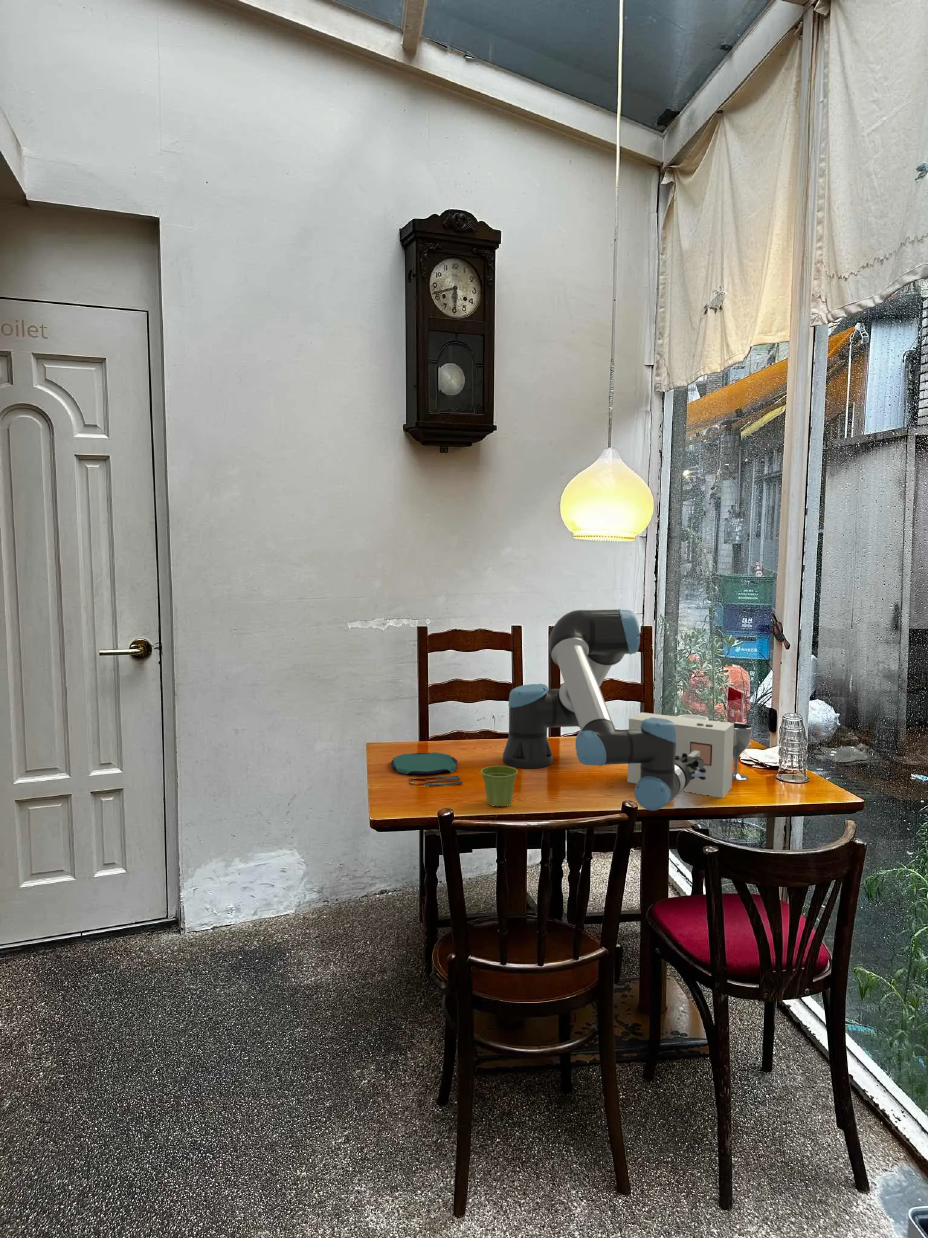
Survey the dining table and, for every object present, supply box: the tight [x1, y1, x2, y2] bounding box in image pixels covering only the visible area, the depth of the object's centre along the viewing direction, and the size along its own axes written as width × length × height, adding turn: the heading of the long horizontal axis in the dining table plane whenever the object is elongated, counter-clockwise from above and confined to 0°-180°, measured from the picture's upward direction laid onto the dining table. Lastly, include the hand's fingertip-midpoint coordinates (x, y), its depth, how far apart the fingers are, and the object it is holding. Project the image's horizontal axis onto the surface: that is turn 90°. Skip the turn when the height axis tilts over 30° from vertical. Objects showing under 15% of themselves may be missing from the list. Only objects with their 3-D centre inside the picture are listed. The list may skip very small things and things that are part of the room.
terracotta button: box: [691, 742, 712, 765], centre depth 209 cm, size 6×5×5 cm
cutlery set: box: [390, 751, 463, 787], centre depth 227 cm, size 20×30×2 cm, turn 11°
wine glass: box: [727, 721, 753, 782], centre depth 223 cm, size 8×8×15 cm
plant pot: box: [480, 765, 519, 807], centre depth 199 cm, size 9×9×9 cm
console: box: [626, 711, 734, 799], centre depth 214 cm, size 10×26×18 cm, turn 58°
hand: (697, 755), depth 203 cm, fingers closed
